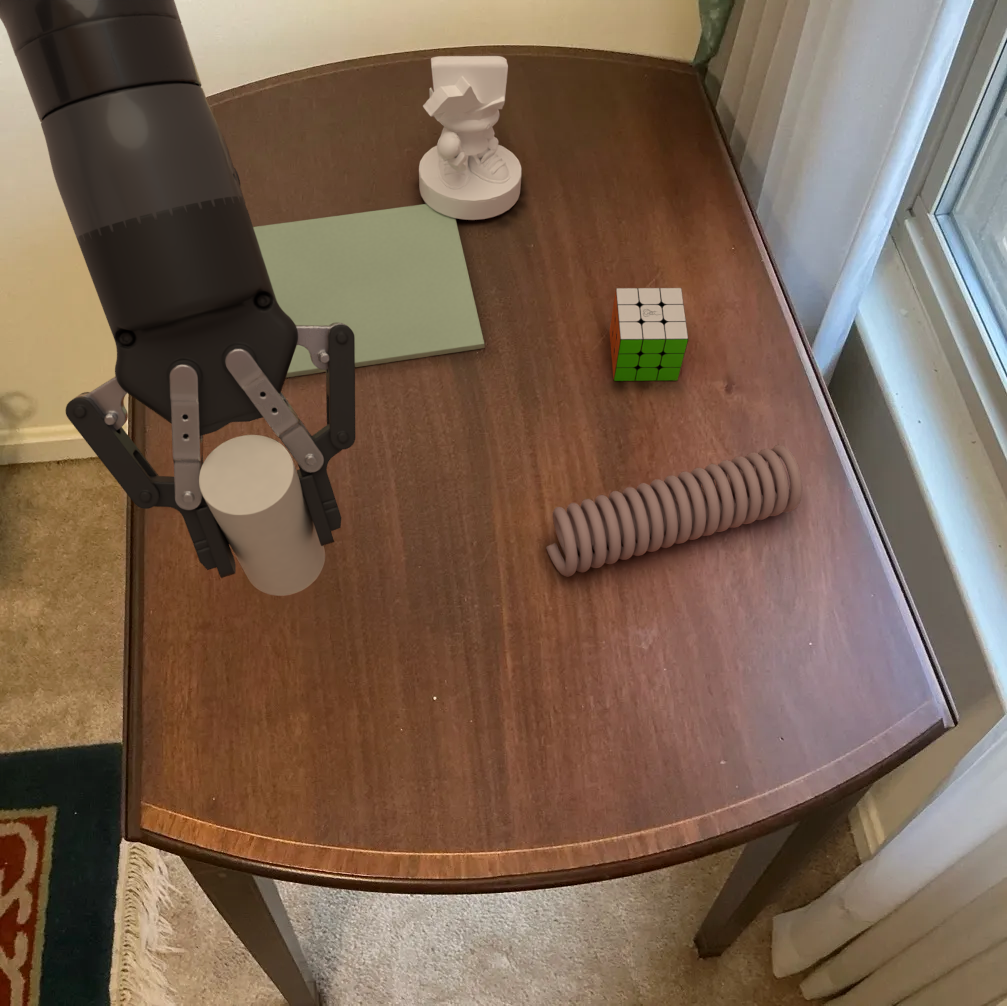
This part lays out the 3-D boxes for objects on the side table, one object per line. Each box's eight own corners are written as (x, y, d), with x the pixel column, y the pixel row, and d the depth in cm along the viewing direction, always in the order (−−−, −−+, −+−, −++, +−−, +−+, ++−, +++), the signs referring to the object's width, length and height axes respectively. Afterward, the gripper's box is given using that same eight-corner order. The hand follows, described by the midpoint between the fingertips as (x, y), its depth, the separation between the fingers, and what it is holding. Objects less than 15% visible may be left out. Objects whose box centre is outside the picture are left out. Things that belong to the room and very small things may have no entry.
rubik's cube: (677, 381, 74) (688, 339, 70) (612, 381, 74) (619, 339, 70) (672, 330, 76) (682, 287, 72) (609, 330, 76) (615, 287, 72)
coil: (786, 428, 66) (539, 497, 64) (820, 480, 64) (563, 554, 61) (773, 470, 70) (539, 537, 67) (804, 520, 67) (562, 591, 65)
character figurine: (421, 221, 81) (418, 89, 71) (416, 151, 86) (412, 20, 76) (525, 218, 82) (536, 88, 72) (513, 149, 87) (522, 19, 77)
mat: (226, 386, 74) (224, 382, 73) (218, 236, 81) (216, 231, 81) (484, 348, 75) (484, 343, 75) (451, 205, 83) (451, 200, 83)
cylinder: (246, 602, 51) (199, 521, 44) (242, 530, 54) (197, 441, 46) (328, 588, 52) (297, 506, 44) (321, 518, 54) (290, 427, 46)
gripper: (-27, 250, 39) (126, 628, 44) (318, 163, 41) (427, 531, 46) (16, 253, 46) (144, 579, 51) (308, 179, 48) (403, 496, 53)
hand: (278, 554), depth 48 cm, fingers closed on cylinder, 4 cm apart
